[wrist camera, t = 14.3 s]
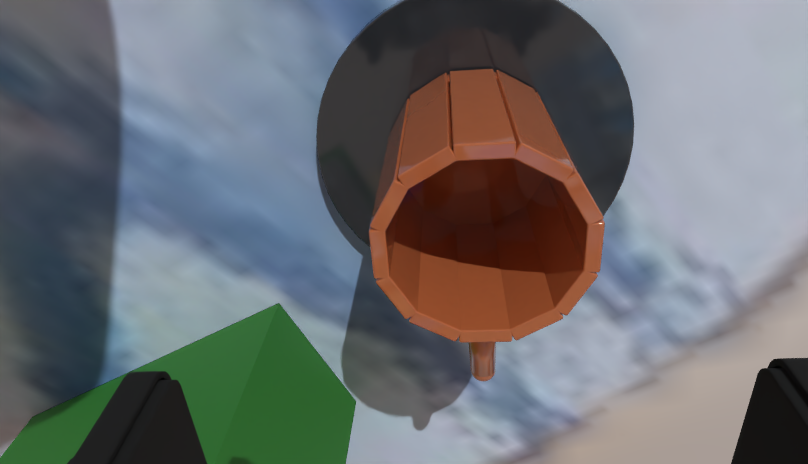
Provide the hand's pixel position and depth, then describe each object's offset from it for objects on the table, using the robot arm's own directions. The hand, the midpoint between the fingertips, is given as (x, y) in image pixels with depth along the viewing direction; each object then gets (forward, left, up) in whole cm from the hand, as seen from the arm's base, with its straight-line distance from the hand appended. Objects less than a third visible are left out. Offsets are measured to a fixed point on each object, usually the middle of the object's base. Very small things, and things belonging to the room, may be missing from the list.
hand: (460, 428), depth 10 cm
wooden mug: (+2, +2, -16) cm, 17 cm away
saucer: (+1, +2, -17) cm, 17 cm away
